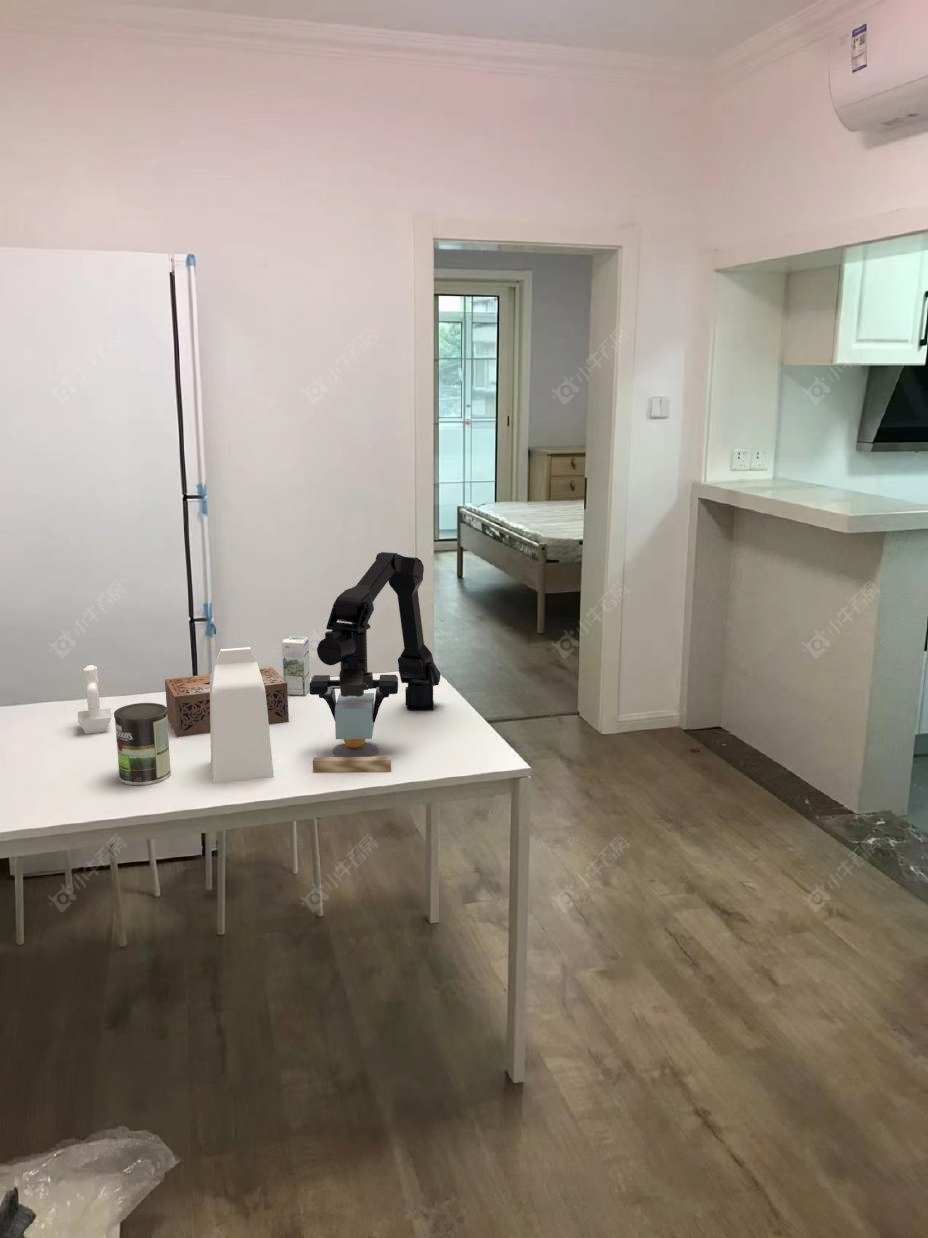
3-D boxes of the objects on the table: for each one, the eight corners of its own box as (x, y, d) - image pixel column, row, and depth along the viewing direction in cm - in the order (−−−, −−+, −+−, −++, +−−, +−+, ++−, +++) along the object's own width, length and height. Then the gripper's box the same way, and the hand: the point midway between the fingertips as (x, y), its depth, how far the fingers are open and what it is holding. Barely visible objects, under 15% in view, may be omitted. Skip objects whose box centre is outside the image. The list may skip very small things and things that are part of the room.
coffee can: (133, 790, 197) (128, 722, 194) (110, 775, 204) (104, 710, 201) (181, 776, 204) (176, 710, 201) (156, 762, 211) (152, 699, 208)
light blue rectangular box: (374, 722, 223) (373, 693, 222) (371, 738, 212) (371, 708, 211) (339, 722, 223) (339, 693, 221) (335, 739, 212) (334, 708, 210)
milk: (213, 783, 201) (206, 658, 195) (210, 762, 212) (203, 644, 206) (273, 776, 204) (268, 654, 198) (268, 756, 215) (263, 640, 209)
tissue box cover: (177, 738, 226) (174, 696, 224) (167, 719, 239) (164, 679, 237) (288, 723, 237) (287, 682, 234) (273, 705, 250) (271, 667, 247)
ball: (363, 744, 216) (366, 751, 221) (365, 723, 218) (367, 730, 223) (340, 744, 216) (343, 751, 221) (342, 722, 218) (345, 729, 223)
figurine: (79, 738, 225) (73, 674, 222) (79, 725, 234) (73, 663, 230) (112, 734, 228) (107, 671, 224) (111, 721, 236) (106, 660, 233)
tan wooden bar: (390, 767, 209) (390, 756, 208) (390, 771, 207) (390, 760, 206) (314, 768, 208) (313, 757, 208) (313, 772, 206) (312, 760, 206)
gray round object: (379, 742, 223) (379, 741, 223) (377, 759, 214) (377, 758, 214) (334, 742, 223) (334, 742, 223) (330, 759, 213) (330, 758, 213)
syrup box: (311, 689, 261) (309, 636, 258) (305, 696, 255) (303, 641, 252) (289, 688, 262) (287, 635, 258) (283, 695, 256) (281, 641, 253)
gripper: (305, 664, 205) (307, 735, 209) (396, 663, 206) (397, 734, 209) (311, 649, 216) (313, 717, 220) (397, 649, 217) (398, 717, 220)
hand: (355, 722), depth 217 cm, fingers closed on light blue rectangular box, 8 cm apart
